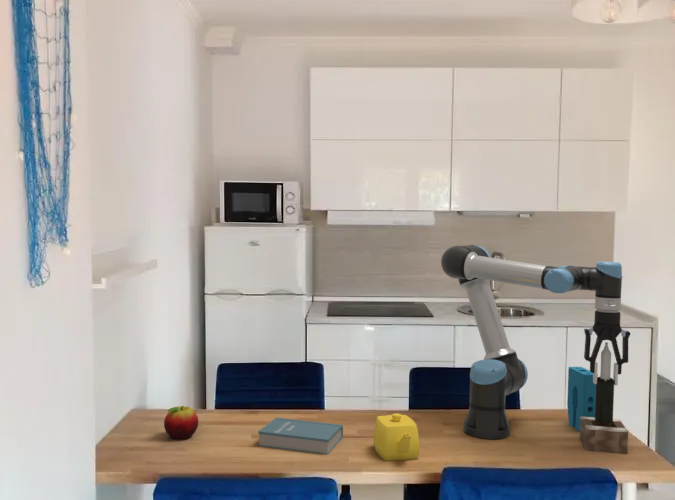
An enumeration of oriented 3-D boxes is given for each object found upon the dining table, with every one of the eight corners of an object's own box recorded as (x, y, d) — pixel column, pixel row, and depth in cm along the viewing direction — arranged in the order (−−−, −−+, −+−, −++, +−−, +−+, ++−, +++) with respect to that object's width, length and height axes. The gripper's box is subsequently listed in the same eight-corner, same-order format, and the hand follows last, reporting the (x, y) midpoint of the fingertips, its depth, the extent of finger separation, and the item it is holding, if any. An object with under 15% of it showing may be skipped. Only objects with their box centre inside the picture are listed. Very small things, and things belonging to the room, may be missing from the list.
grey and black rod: (611, 419, 208) (614, 341, 207) (613, 423, 203) (615, 344, 202) (594, 417, 210) (597, 340, 209) (595, 421, 205) (598, 342, 204)
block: (596, 433, 219) (598, 374, 218) (582, 433, 218) (584, 374, 217) (579, 422, 231) (580, 366, 230) (565, 422, 230) (567, 366, 229)
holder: (585, 450, 202) (586, 427, 202) (579, 437, 214) (580, 416, 214) (627, 453, 200) (628, 430, 200) (619, 440, 212) (619, 419, 211)
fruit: (205, 436, 209) (205, 405, 208) (175, 444, 201) (176, 412, 200) (185, 428, 216) (186, 399, 216) (157, 436, 208) (157, 405, 208)
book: (257, 447, 201) (258, 431, 201) (277, 431, 216) (277, 416, 216) (327, 456, 195) (328, 439, 194) (342, 439, 210) (343, 424, 210)
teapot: (427, 464, 188) (428, 424, 187) (386, 467, 185) (387, 426, 185) (406, 441, 208) (406, 405, 207) (368, 443, 205) (369, 406, 204)
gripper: (578, 310, 203) (576, 384, 204) (641, 313, 200) (639, 388, 201) (575, 307, 211) (572, 378, 212) (636, 310, 207) (633, 382, 208)
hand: (605, 383), depth 206 cm, fingers closed on grey and black rod, 5 cm apart
